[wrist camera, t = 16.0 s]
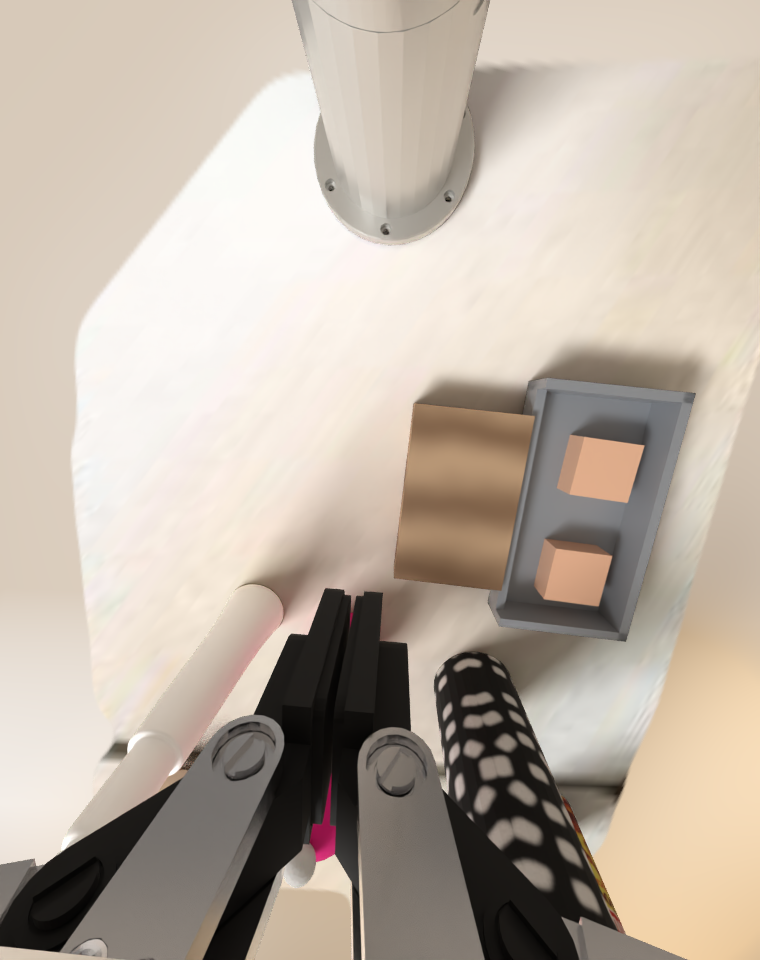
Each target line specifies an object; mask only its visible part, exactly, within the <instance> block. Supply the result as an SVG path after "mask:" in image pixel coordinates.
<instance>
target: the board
mask: <svg viewBox="0 0 760 960" xmlns="http://www.w3.org/2000/svg"><path fill="white" fill-rule="evenodd" d="M534 419H535V416H530V415H520V414H511V413H502V412H492V411H483V410H473V409H464V408H455V407H445V406H436V405H427V404H417V403H414V405H413V413H412V421H411V429H410V438H409V446H408V454H407V462H406V470H405V479H404V487H403V495H402V503H401V511H400V520H399V528H398V536H397V544H396V553H395V561H394V578H397V579H405V580H414V581H422V582H431V583H439V584H448V585H456V586H464V587H473V588H481V589H490V590H498V591H501V590H502V585H503V580H504V575H505V570H506V565H507V559H508V554H509V549H510V544H511V539H512V533H513V528H514V523H515V518H516V513H517V507H518V502H519V497H520V492H521V487H522V481H523V476H524V471H525V466H526V461H527V455H528V450H529V445H530V440H531V435H532V429H533V424H534Z"/></svg>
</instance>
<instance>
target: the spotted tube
mask: <svg viewBox="0 0 760 960" xmlns="http://www.w3.org/2000/svg"><path fill="white" fill-rule="evenodd" d="M434 692H435V699H436V707H437V714H438V722H439V729H440V737H441V744H442V752H443V759H444V767H445V774H446V782H447V789H448V796H449V797H450V798H451V799H452V800H453V801H454V802H455V803H456V804H457V805H458V806H459V807H460V808H461V809H462V810H463V811H464V812H465V813H466V814H467V816H468V817H469V818H470V819H471V820H472V821H473V822H474V823H475V824H476V825H477V826H478V827H479V828H480V829H481V830H482V831H483V832H484V833H485V834H486V835H487V836H488V838H489V839H490V840H491V841H492V842H493V843H494V844H495V845H496V846H497V847H498V848H499V849H500V850H501V851H502V852H503V853H504V854H505V855H506V856H507V857H508V858H509V860H510V861H511V862H512V863H513V864H514V865H515V866H516V867H517V868H518V869H519V870H520V871H521V872H522V873H523V874H524V875H525V876H526V877H527V878H528V879H529V880H530V882H531V883H532V884H533V885H534V886H535V887H536V888H537V889H538V890H539V891H540V892H541V893H542V894H543V895H544V896H545V897H546V898H547V899H548V901H549V902H550V903H551V905H552V906H553V907H554V908H555V910H556V911H557V912H558V914H559V915H560V916H561V917H563V918H566V919H568V920H570V921H573V922H575V923H578V924H579V921H580V918H581V917H583V918H586V919H588V920H591V921H593V922H596V923H598V924H601V925H603V926H606V927H608V928H610V929H613V930H615V931H618V930H617V927H616V925H615V923H614V920H613V918H612V916H611V913H610V911H609V909H608V906H607V904H606V901H605V899H604V897H603V894H602V892H601V890H600V887H599V885H598V883H597V880H596V878H595V875H594V873H593V871H592V868H591V866H590V864H589V861H588V859H587V856H586V854H585V852H584V849H583V847H582V845H581V842H580V840H579V838H578V835H577V833H576V830H575V828H574V826H573V823H572V821H571V819H570V816H569V814H568V812H567V809H566V807H565V804H564V802H563V800H562V797H561V795H560V793H559V790H558V788H557V786H556V783H555V781H554V778H553V776H552V774H551V771H550V769H549V767H548V764H547V762H546V760H545V757H544V755H543V752H542V750H541V748H540V745H539V743H538V741H537V738H536V736H535V733H534V731H533V729H532V726H531V724H530V722H529V719H528V717H527V715H526V712H525V710H524V707H523V705H522V703H521V700H520V698H519V696H518V693H517V691H516V689H515V686H514V684H513V681H512V679H511V677H510V674H509V672H508V671H507V669H506V667H505V666H504V665H503V664H502V663H501V662H500V661H499V660H497V659H496V658H494V657H492V656H490V655H487V654H483V653H477V652H469V653H463V654H459V655H456V656H454V657H452V658H450V659H449V660H448V661H446V662H445V663H444V664H443V665H442V666H441V667H440V668H439V670H438V672H437V674H436V676H435V680H434Z"/></svg>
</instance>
